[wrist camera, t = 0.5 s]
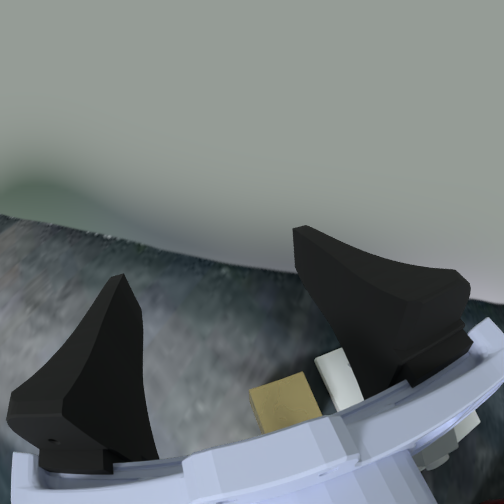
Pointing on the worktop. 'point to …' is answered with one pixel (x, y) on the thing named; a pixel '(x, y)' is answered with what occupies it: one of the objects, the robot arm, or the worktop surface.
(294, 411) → the block
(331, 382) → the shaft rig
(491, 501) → the soda can
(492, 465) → the worktop surface
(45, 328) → the worktop surface
